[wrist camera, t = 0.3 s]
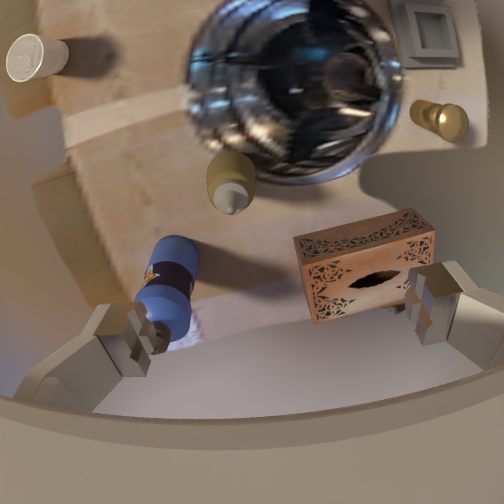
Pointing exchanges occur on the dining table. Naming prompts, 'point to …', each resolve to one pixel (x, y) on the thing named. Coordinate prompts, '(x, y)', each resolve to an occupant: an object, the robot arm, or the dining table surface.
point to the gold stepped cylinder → (441, 119)
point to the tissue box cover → (362, 263)
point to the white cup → (36, 57)
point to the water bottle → (169, 289)
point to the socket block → (424, 33)
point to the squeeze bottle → (231, 182)
